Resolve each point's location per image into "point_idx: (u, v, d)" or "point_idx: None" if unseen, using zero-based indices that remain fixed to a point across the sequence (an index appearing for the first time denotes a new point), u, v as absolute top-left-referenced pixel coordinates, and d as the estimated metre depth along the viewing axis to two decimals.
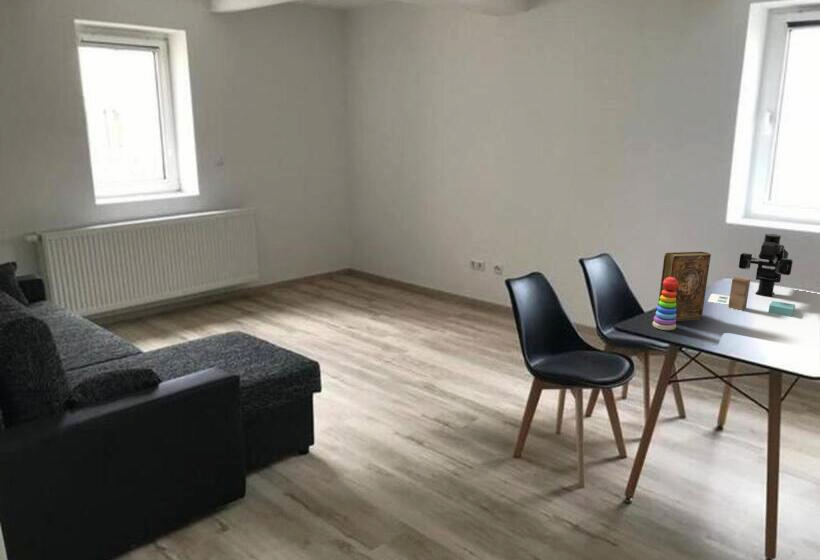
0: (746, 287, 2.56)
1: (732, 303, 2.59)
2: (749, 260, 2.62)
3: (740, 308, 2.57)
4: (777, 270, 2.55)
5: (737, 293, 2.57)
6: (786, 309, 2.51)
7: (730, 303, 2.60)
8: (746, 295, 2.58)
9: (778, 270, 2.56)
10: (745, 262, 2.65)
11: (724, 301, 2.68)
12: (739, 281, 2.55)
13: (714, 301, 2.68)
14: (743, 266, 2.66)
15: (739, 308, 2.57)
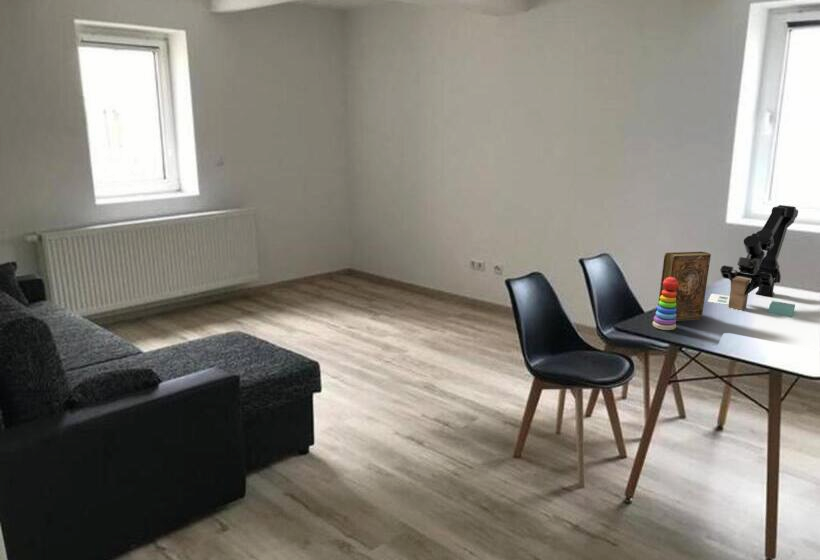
0: (746, 287, 2.56)
1: (732, 303, 2.59)
2: None
3: (740, 308, 2.57)
4: (748, 291, 2.56)
5: (737, 293, 2.57)
6: (786, 309, 2.51)
7: (730, 303, 2.60)
8: (746, 295, 2.58)
9: (750, 290, 2.56)
10: (731, 277, 2.63)
11: (724, 301, 2.68)
12: (739, 281, 2.55)
13: (714, 301, 2.68)
14: (730, 279, 2.65)
15: (739, 308, 2.57)
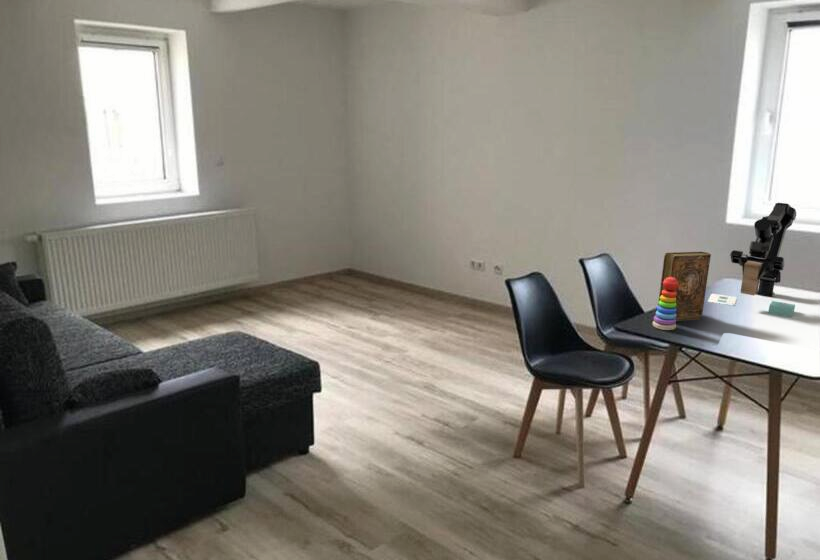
0: (759, 272, 2.53)
1: (745, 288, 2.55)
2: None
3: (753, 293, 2.54)
4: (761, 276, 2.53)
5: (750, 278, 2.53)
6: (786, 309, 2.51)
7: (742, 288, 2.56)
8: (758, 279, 2.55)
9: (762, 274, 2.54)
10: (741, 262, 2.60)
11: (724, 301, 2.68)
12: (752, 266, 2.52)
13: (714, 301, 2.68)
14: (740, 264, 2.61)
15: (752, 293, 2.54)
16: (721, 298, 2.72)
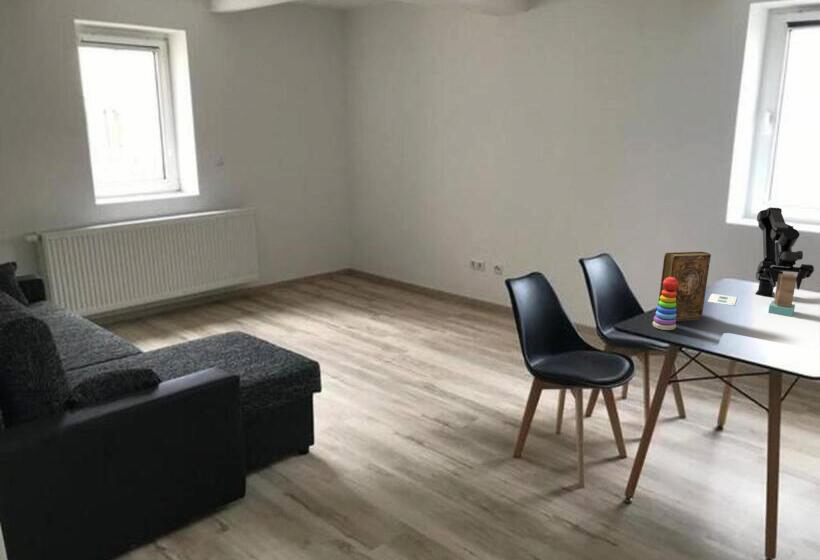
0: None
1: (782, 301, 2.53)
2: (773, 275, 2.54)
3: (790, 305, 2.52)
4: (799, 285, 2.52)
5: (787, 290, 2.51)
6: (786, 309, 2.51)
7: (779, 301, 2.53)
8: None
9: None
10: (767, 272, 2.57)
11: (724, 301, 2.68)
12: (789, 278, 2.50)
13: (714, 301, 2.68)
14: (764, 274, 2.58)
15: (789, 305, 2.52)
16: (721, 298, 2.72)
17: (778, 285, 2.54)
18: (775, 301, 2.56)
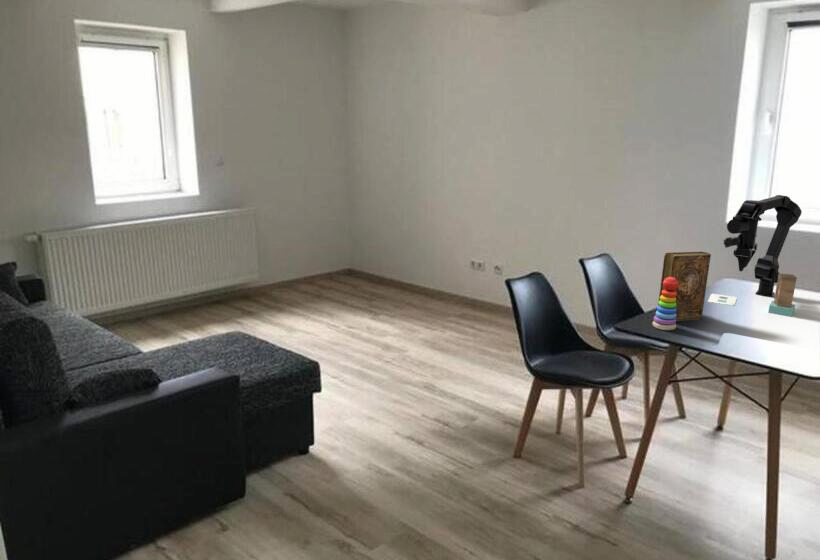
0: None
1: (782, 301, 2.53)
2: None
3: (790, 305, 2.52)
4: (742, 267, 2.64)
5: (787, 290, 2.51)
6: (786, 309, 2.51)
7: (779, 301, 2.53)
8: None
9: (743, 265, 2.64)
10: None
11: (724, 301, 2.68)
12: (789, 278, 2.50)
13: (714, 301, 2.68)
14: None
15: (789, 305, 2.52)
16: (721, 298, 2.72)
17: (778, 285, 2.54)
18: (775, 301, 2.56)
